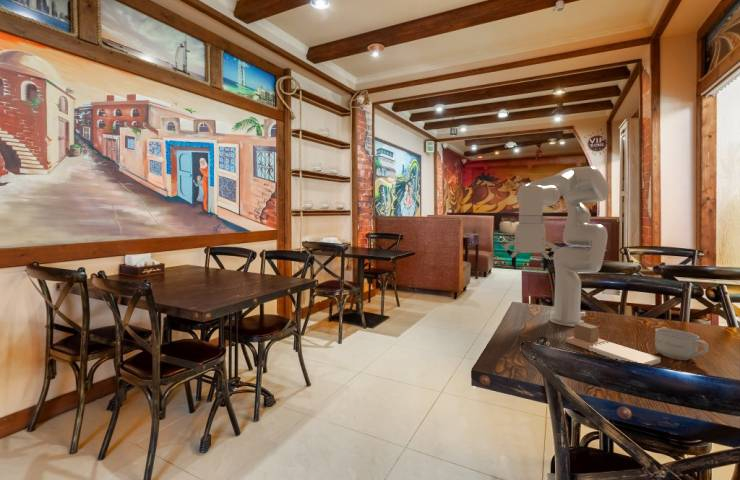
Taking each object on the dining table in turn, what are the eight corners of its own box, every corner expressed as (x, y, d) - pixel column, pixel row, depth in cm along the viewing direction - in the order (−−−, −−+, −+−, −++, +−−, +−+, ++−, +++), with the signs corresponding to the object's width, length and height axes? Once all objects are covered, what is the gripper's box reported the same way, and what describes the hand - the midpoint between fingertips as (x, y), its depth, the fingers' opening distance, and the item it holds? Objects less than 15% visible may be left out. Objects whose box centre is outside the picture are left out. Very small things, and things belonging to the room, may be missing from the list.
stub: (584, 337, 133) (584, 320, 133) (606, 344, 126) (607, 326, 125) (565, 341, 129) (566, 324, 128) (587, 349, 122) (588, 330, 121)
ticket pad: (607, 345, 126) (607, 340, 126) (660, 362, 111) (660, 357, 111) (588, 350, 121) (588, 345, 121) (641, 368, 107) (641, 363, 107)
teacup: (645, 351, 121) (646, 327, 120) (675, 349, 122) (676, 326, 121) (685, 368, 107) (686, 342, 106) (718, 367, 108) (720, 341, 107)
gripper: (557, 220, 127) (556, 268, 129) (504, 220, 134) (504, 266, 136) (558, 221, 121) (557, 272, 122) (503, 221, 128) (502, 269, 129)
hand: (529, 269), depth 129 cm, fingers open, 9 cm apart
